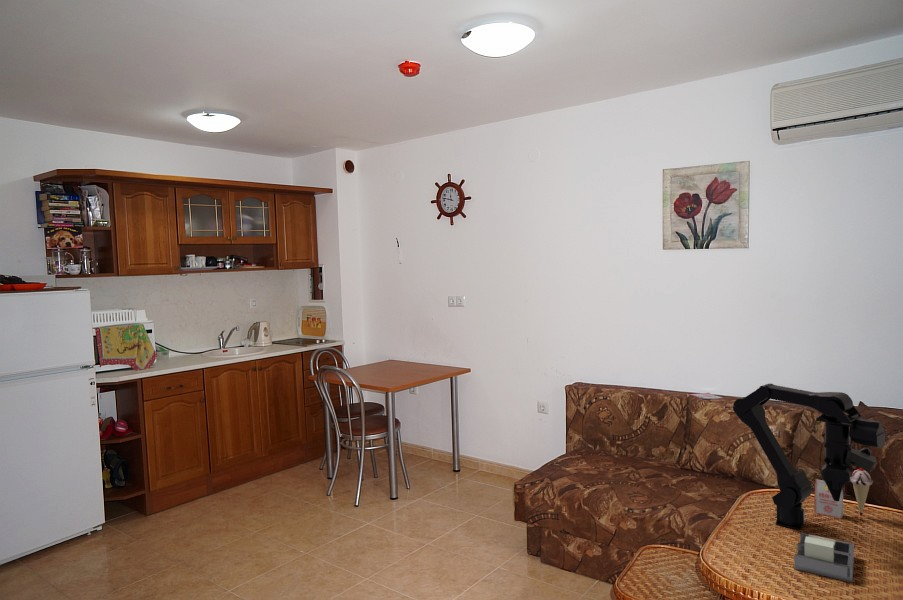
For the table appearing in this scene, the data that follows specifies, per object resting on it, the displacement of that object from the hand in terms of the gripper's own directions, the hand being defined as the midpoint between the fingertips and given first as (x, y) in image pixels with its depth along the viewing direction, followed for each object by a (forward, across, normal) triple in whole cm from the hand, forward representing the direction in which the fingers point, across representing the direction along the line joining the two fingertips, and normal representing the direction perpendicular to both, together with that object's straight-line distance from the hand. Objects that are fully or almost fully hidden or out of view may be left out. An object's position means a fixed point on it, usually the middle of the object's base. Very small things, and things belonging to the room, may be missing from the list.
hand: (837, 495), depth 159 cm
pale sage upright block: (+12, -20, +3) cm, 23 cm away
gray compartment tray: (+12, -16, +2) cm, 20 cm away
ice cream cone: (+13, +19, -5) cm, 23 cm away
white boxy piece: (+13, +17, +3) cm, 22 cm away
